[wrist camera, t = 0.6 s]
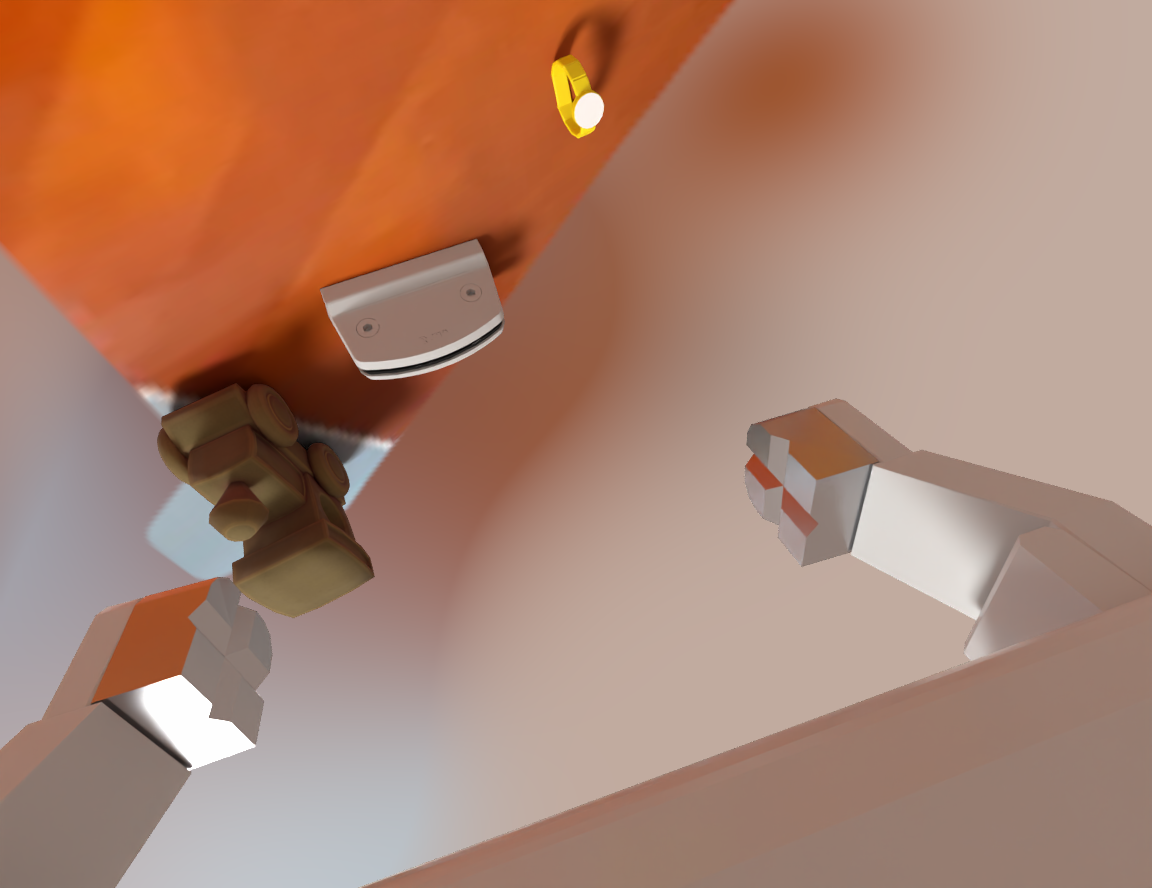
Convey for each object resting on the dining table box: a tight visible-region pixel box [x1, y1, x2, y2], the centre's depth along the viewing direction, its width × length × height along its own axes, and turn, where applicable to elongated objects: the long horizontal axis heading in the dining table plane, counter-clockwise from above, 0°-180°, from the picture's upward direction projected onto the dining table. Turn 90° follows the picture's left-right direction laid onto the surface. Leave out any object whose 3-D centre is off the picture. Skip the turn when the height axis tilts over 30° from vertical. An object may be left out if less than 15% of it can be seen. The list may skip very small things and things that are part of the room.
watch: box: [551, 55, 604, 138], centre depth 48 cm, size 6×3×6 cm, turn 12°
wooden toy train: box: [157, 383, 374, 618], centre depth 58 cm, size 20×11×17 cm, turn 12°
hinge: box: [320, 239, 505, 380], centre depth 55 cm, size 17×5×10 cm, turn 95°
